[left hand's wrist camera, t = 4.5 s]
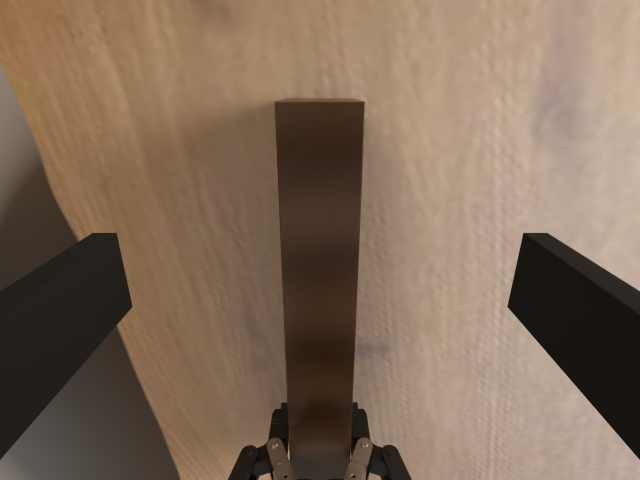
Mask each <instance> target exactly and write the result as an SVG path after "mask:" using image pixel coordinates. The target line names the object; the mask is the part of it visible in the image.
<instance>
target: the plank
mask: <svg viewBox="0 0 640 480" xmlns="http://www.w3.org/2000/svg"><path fill="white" fill-rule="evenodd" d="M275 118H276V142H277V165H278V189H279V213H280V237H281V260H282V284H283V308H284V331H285V355H286V379H287V403H288V426H289V450H290V461H291V464H292V467H293V470H294V473H295V476H296V479H311V480H329V479H343V477H344V474H345V471H346V468H347V465H348V462H349V460H350V450H351V426H352V402H353V379H354V355H355V331H356V307H357V284H358V260H359V236H360V213H361V189H362V165H363V141H364V118H365V102H364V101H360V100H356V99H284V100H280V101H276V102H275Z"/></svg>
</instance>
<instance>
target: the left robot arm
mask: <svg viewBox="0 0 640 480" xmlns="http://www.w3.org/2000/svg"><path fill="white" fill-rule="evenodd" d="M131 308H132V302H131V298H130V293H129V288H128V284H127V279H126V275H125V270H124V265H123V261H122V256H121V251H120V247H119V242H118V238H117V233H92V234H90V235H89V236H87V237H86V238H84V239H83V240H81V241H79V242H78V243H76V244H75V245H73V246H72V247H70V248H68V249H67V250H65V251H64V252H62V253H60V254H59V255H57V256H56V257H54V258H52V259H51V260H49V261H48V262H46V263H44V264H43V265H41V266H40V267H38V268H37V269H35V270H33V271H32V272H30V273H29V274H27V275H25V276H24V277H22V278H21V279H19V280H18V281H16V282H14V283H13V284H11V285H10V286H8V287H6V288H5V289H3V290H2V291H0V459H1V458H2V457H3V456H4V455H5V454H6V452H7V451H8V450H9V449H10V448H11V447H12V445H13V444H14V443H15V442H16V441H17V440H18V439H19V437H20V436H21V435H22V434H23V433H24V432H25V430H26V429H27V428H28V427H29V426H30V425H31V424H32V422H33V421H34V420H35V419H36V418H37V417H38V415H39V414H40V413H41V412H42V411H43V410H44V408H45V407H46V406H47V405H48V404H49V403H50V401H51V400H52V399H53V398H54V397H55V396H56V395H57V393H58V392H59V391H60V390H61V389H62V388H63V386H64V385H65V384H66V383H67V382H68V381H69V380H70V378H71V377H72V376H73V375H74V374H75V373H76V371H77V370H78V369H79V368H80V367H81V366H82V365H83V363H84V362H85V361H86V360H87V359H88V358H89V356H90V355H91V354H92V353H93V352H94V351H95V349H96V348H97V347H98V346H99V345H100V344H101V343H102V341H103V340H104V339H105V338H106V337H107V336H108V334H109V333H110V332H111V331H112V330H113V329H114V327H115V326H116V325H117V324H118V323H119V322H120V321H121V319H122V318H123V317H124V316H125V315H126V314H127V312H128V311H129V310H130V309H131ZM508 308H509V309H510V310H511V311H512V312H513V314H514V315H515V316H516V317H517V318H518V319H519V321H520V322H521V323H522V324H523V325H524V326H525V327H526V329H527V330H528V331H529V332H530V333H531V334H532V336H533V337H534V338H535V339H536V340H537V341H538V343H539V344H540V345H541V346H542V347H543V348H544V349H545V351H546V352H547V353H548V354H549V355H550V356H551V358H552V359H553V360H554V361H555V362H556V363H557V365H558V366H559V367H560V368H561V369H562V370H563V371H564V373H565V374H566V375H567V376H568V377H569V378H570V380H571V381H572V382H573V383H574V384H575V385H576V386H577V388H578V389H579V390H580V391H581V392H582V393H583V395H584V396H585V397H586V398H587V399H588V400H589V402H590V403H591V404H592V405H593V406H594V407H595V408H596V410H597V411H598V412H599V413H600V414H601V415H602V417H603V418H604V419H605V420H606V421H607V422H608V424H609V425H610V426H611V427H612V428H613V429H614V430H615V432H616V433H617V434H618V435H619V436H620V437H621V439H622V440H623V441H624V442H625V443H626V444H627V445H628V447H629V448H630V449H631V450H632V451H633V452H634V454H635V455H636V456H637V457H638V458H639V459H640V291H638V290H637V289H635V288H634V287H632V286H630V285H629V284H627V283H626V282H624V281H622V280H621V279H619V278H618V277H616V276H615V275H613V274H611V273H610V272H608V271H607V270H605V269H603V268H602V267H600V266H599V265H597V264H596V263H594V262H592V261H591V260H589V259H588V258H586V257H584V256H583V255H581V254H580V253H578V252H577V251H575V250H573V249H572V248H570V247H569V246H567V245H565V244H564V243H562V242H561V241H559V240H557V239H556V238H554V237H553V236H551V235H550V234H548V233H523V238H522V242H521V247H520V251H519V256H518V261H517V265H516V270H515V275H514V279H513V284H512V288H511V293H510V298H509V302H508Z"/></svg>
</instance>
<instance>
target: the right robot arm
mask: <svg viewBox="0 0 640 480" xmlns="http://www.w3.org/2000/svg"><path fill="white" fill-rule="evenodd" d="M288 443H289V426H288V403H281V409H275V410H274V412H273V414H272V420H271V426H270V433H269V439H268V441H267V443H266V444H265V445H263V446H261V447H258V448H256V447H255V446H252V445H249V446H246V447H244V448H243V449H242V451H241V453H240V455H239V457H238V459H237V461H236V463H235V466H234V468H233V470H232V472H231V474H230V476H229V478H228V480H258V478H259V476H261V475H264V474H267V473H269V474H270V477H271V480H311V479H296V476H295V473H294V470H293V467H292V464H291V461H290V460H289V459H288V457H287V455H288ZM351 457H352V458H351V461H350V460H349V462H348V465H347V468H346V471H345V474H344V477H343V479H329V480H368V479H369V475H370V473H373V474H376V475H379V476H380V477H381V480H412V479H411V477H410V475H409V473H408V471H407V469H406V467H405V465H404V462H403V460H402V458H401V456H400V454H399V452H398V450H397V448H396V447H394V446H392V445H386V446H384V447H383V448H381V447H378V446H376V445H374V444H373V443H372V442H371V440H370V435H369V428H368V421H367V414H366V412H365V411H364V409H358V404H357V402H352V426H351Z"/></svg>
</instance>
